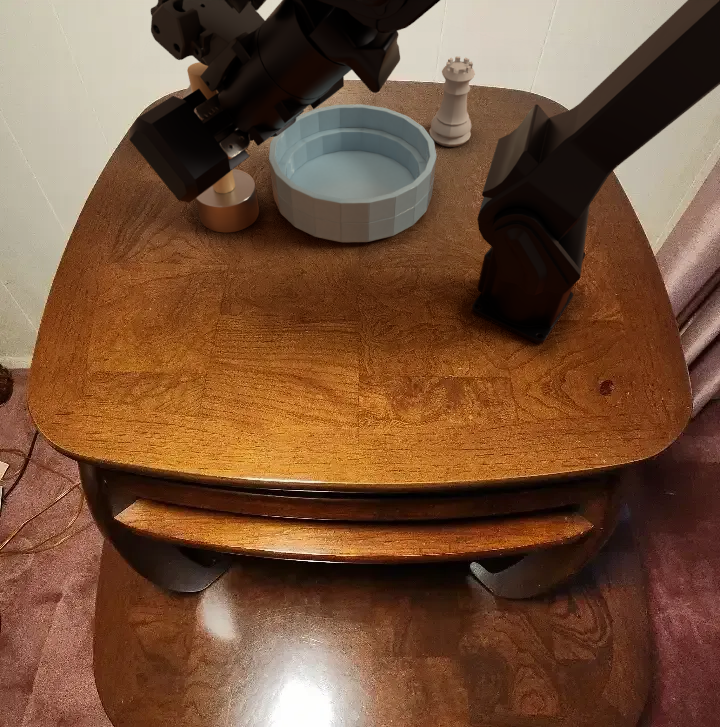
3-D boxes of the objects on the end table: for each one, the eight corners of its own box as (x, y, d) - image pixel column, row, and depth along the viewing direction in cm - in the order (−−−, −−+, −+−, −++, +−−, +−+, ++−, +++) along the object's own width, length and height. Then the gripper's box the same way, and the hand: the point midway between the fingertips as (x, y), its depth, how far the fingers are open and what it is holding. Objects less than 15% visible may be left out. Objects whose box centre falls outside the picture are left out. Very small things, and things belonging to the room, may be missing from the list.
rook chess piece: (469, 150, 65) (481, 76, 59) (426, 146, 65) (434, 72, 59) (471, 126, 68) (483, 53, 61) (430, 123, 68) (438, 49, 62)
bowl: (458, 182, 62) (465, 137, 58) (374, 270, 54) (376, 226, 50) (334, 132, 67) (333, 87, 63) (242, 206, 59) (234, 161, 55)
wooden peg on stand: (271, 208, 59) (251, 63, 48) (232, 240, 56) (202, 95, 45) (227, 187, 61) (198, 43, 50) (187, 217, 58) (147, 72, 47)
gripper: (307, -102, 43) (217, 20, 56) (102, -7, 34) (49, 114, 47) (395, 43, 47) (293, 127, 60) (232, 165, 38) (151, 234, 50)
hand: (205, 146), depth 54 cm, fingers closed on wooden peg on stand
